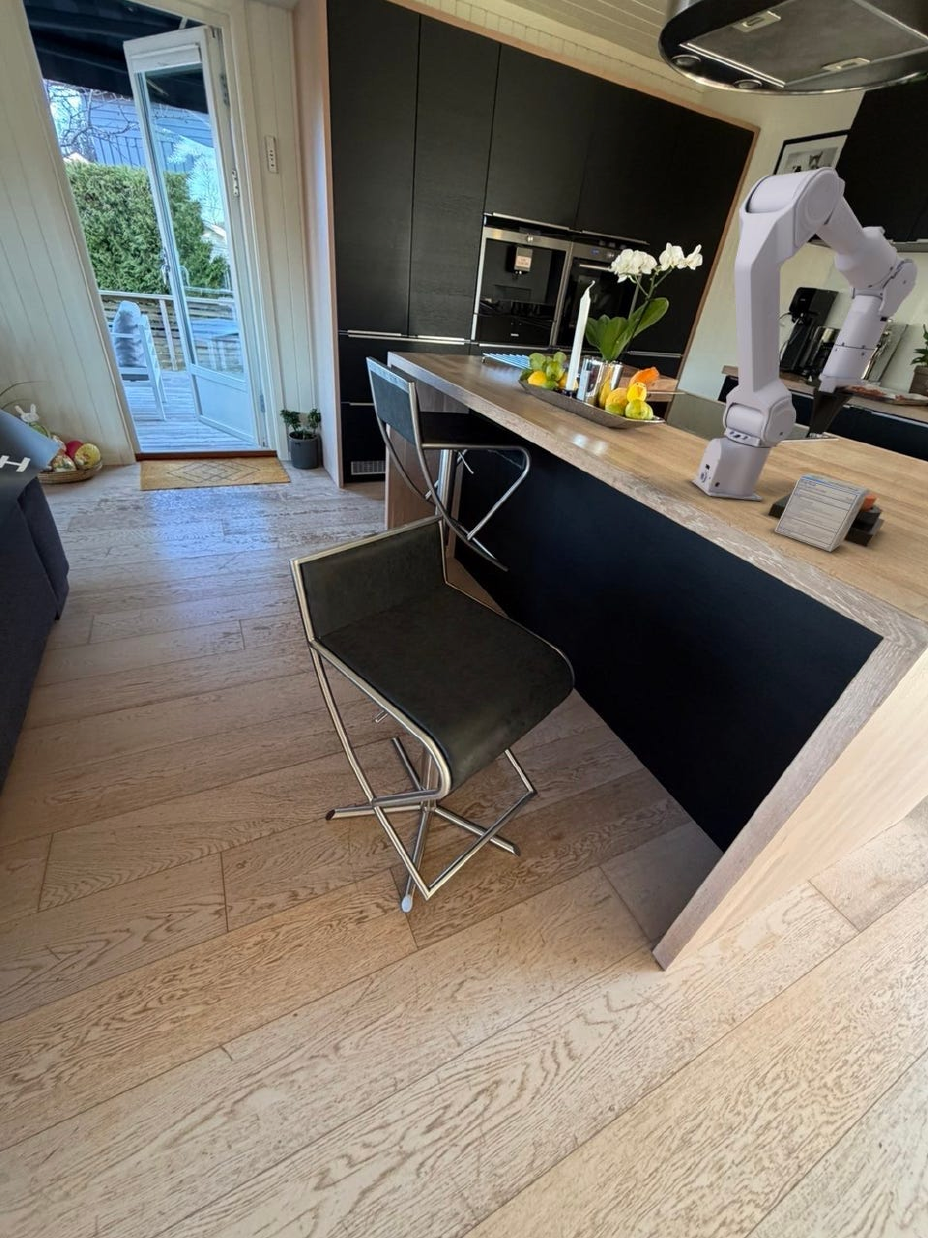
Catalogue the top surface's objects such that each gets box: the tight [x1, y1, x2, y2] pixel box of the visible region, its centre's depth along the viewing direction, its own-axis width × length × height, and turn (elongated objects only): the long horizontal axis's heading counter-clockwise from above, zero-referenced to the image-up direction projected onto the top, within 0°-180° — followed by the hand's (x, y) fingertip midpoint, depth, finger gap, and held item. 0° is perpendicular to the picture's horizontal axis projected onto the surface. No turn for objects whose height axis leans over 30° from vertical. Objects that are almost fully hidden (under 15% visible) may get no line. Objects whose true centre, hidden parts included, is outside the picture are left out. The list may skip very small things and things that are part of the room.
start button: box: [860, 492, 877, 510], centre depth 80 cm, size 4×4×2 cm
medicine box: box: [774, 472, 870, 553], centre depth 74 cm, size 8×4×9 cm, turn 40°
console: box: [767, 492, 885, 548], centre depth 82 cm, size 10×14×4 cm
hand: (815, 432), depth 92 cm, fingers closed
